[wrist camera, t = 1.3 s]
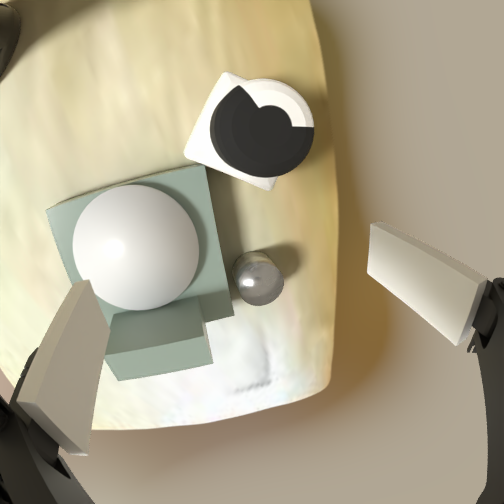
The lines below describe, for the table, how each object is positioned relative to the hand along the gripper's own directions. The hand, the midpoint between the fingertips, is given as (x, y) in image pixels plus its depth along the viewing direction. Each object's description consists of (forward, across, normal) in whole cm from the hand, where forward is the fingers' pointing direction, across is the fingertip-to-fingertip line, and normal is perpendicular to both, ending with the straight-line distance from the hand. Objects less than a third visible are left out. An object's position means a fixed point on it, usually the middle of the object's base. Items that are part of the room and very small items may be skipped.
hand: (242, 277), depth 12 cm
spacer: (+19, +4, -10) cm, 22 cm away
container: (+19, +4, +6) cm, 20 cm away
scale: (+19, -8, -5) cm, 21 cm away
